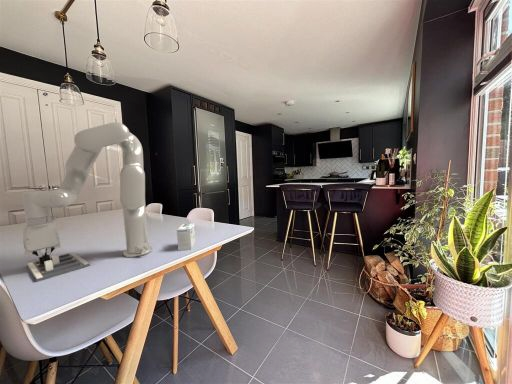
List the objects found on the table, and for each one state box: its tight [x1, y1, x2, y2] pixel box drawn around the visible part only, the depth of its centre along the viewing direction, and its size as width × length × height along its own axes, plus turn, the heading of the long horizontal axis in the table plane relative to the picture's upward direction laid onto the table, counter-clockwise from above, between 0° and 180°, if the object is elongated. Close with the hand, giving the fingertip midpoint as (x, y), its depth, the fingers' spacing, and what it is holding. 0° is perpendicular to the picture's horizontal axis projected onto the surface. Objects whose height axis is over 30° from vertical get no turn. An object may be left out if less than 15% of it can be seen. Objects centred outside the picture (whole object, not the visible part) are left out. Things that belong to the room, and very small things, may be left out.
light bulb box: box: [176, 223, 196, 251], centre depth 110 cm, size 11×7×11 cm, turn 5°
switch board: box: [26, 251, 90, 282], centre depth 92 cm, size 24×16×2 cm, turn 53°
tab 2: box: [50, 254, 60, 265], centre depth 91 cm, size 2×2×4 cm
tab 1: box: [44, 260, 53, 271], centre depth 85 cm, size 2×2×4 cm
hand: (45, 264), depth 89 cm, fingers closed
